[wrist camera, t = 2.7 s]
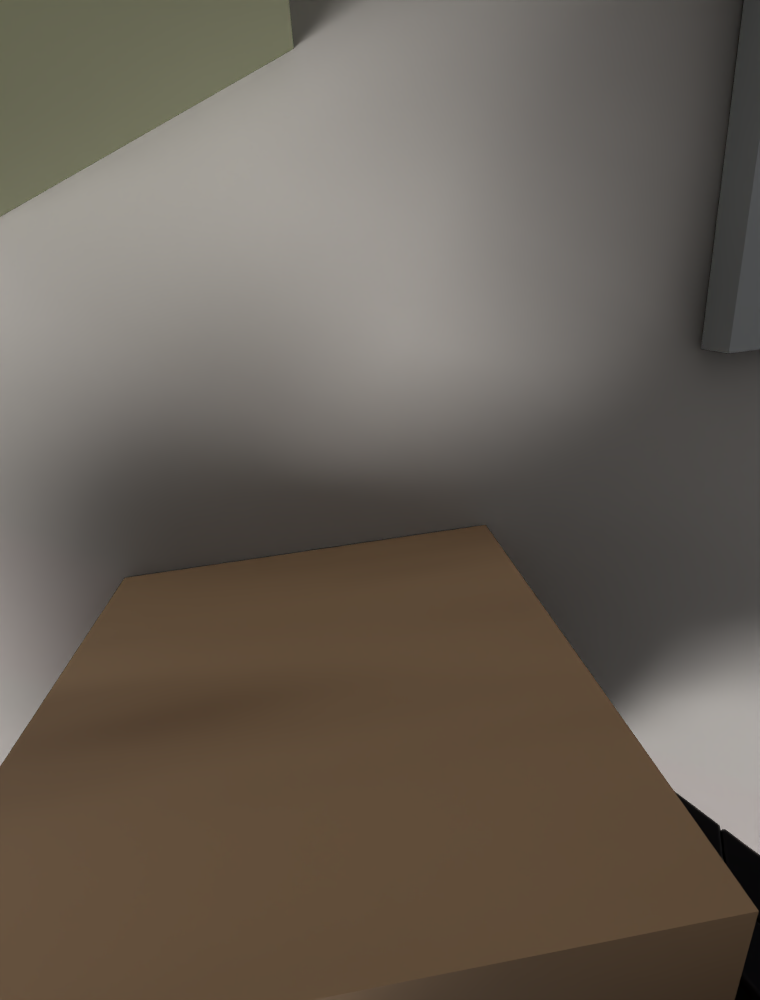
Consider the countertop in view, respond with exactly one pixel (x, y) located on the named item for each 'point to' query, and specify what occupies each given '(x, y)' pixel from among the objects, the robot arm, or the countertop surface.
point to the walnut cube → (349, 799)
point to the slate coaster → (739, 209)
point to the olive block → (115, 75)
